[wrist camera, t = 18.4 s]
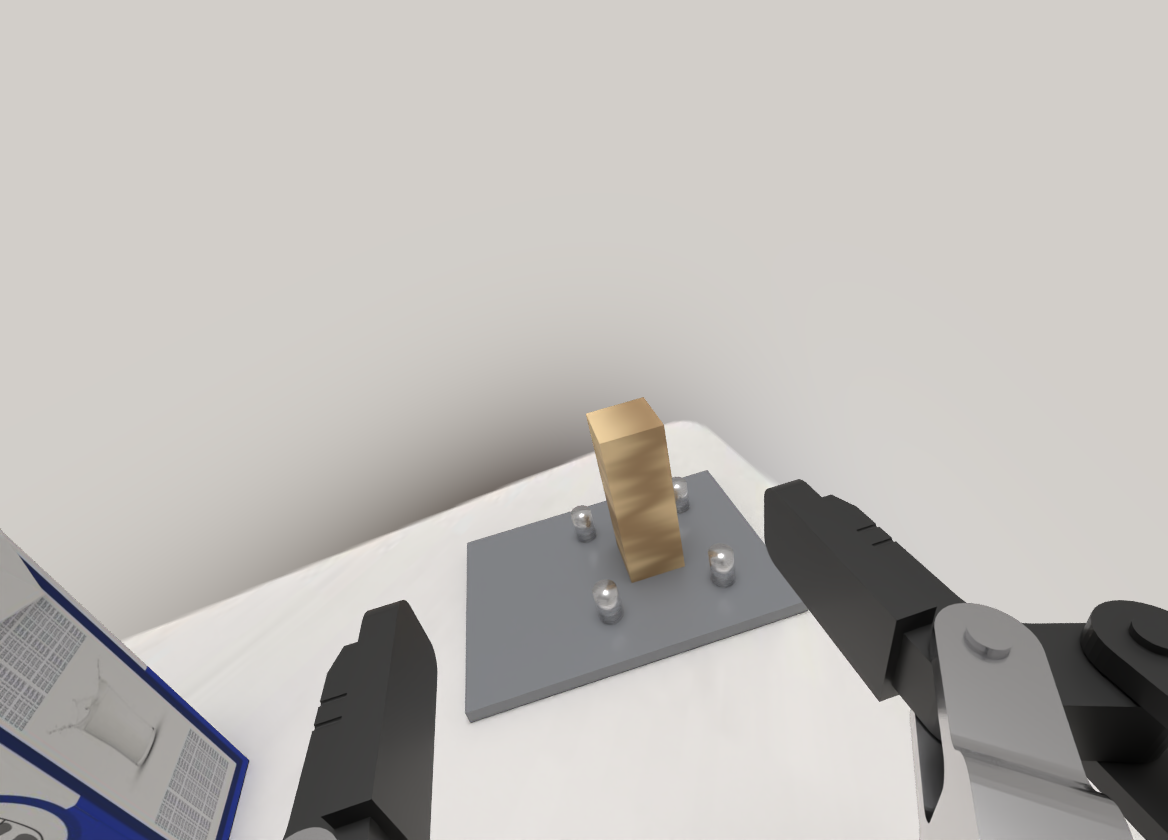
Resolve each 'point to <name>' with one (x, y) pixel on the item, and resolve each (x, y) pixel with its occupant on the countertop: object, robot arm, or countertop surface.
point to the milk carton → (97, 729)
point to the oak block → (638, 487)
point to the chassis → (608, 598)
